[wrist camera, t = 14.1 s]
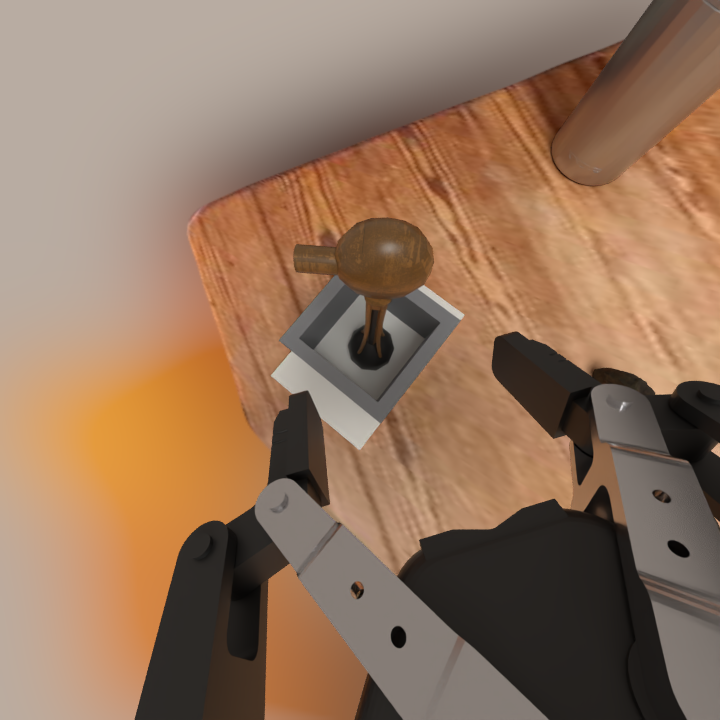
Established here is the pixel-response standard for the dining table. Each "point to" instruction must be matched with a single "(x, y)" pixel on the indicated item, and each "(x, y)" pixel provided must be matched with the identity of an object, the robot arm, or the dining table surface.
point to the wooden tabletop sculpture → (373, 276)
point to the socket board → (340, 374)
